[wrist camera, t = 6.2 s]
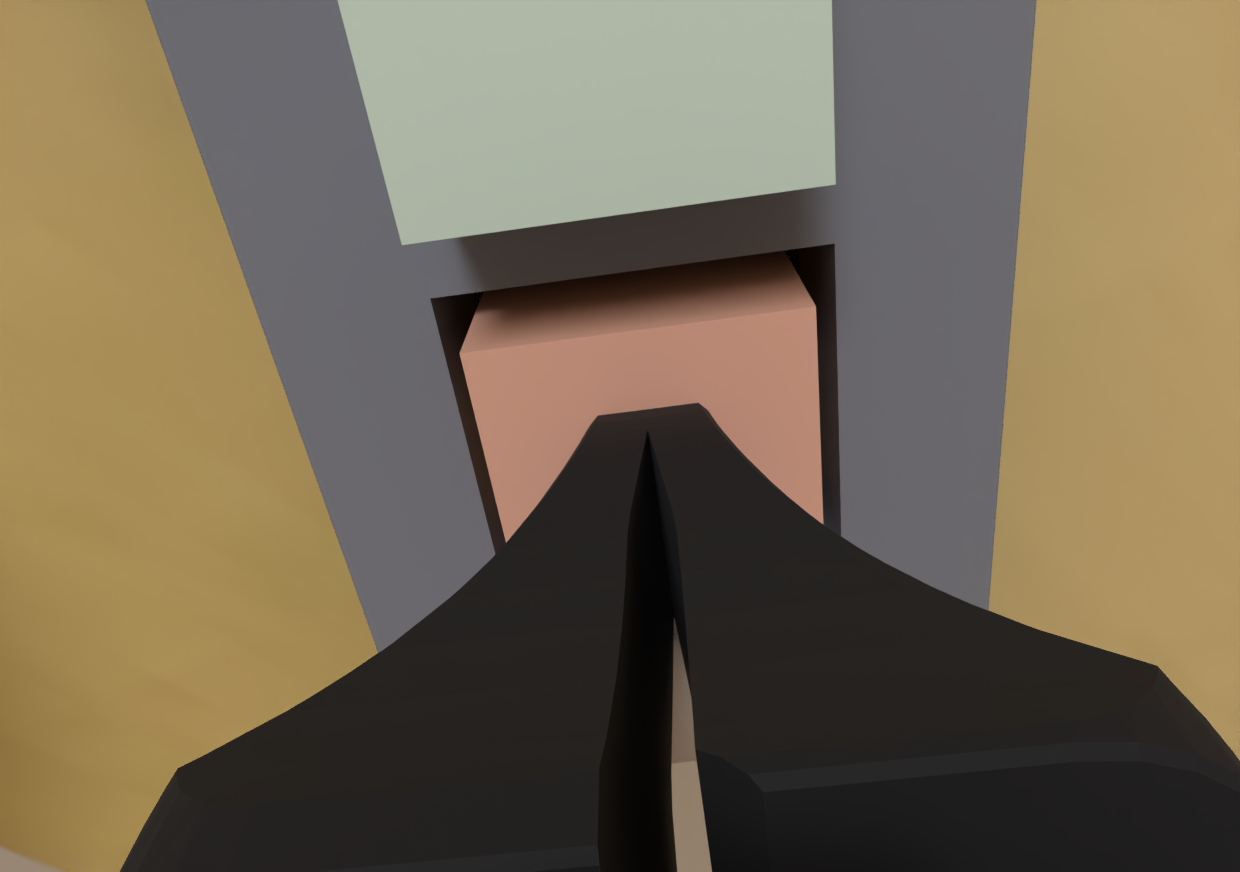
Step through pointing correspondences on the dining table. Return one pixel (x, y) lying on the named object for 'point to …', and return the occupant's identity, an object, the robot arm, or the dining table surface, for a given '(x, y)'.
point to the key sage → (589, 106)
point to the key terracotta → (647, 368)
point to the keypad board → (458, 267)
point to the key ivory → (686, 778)
